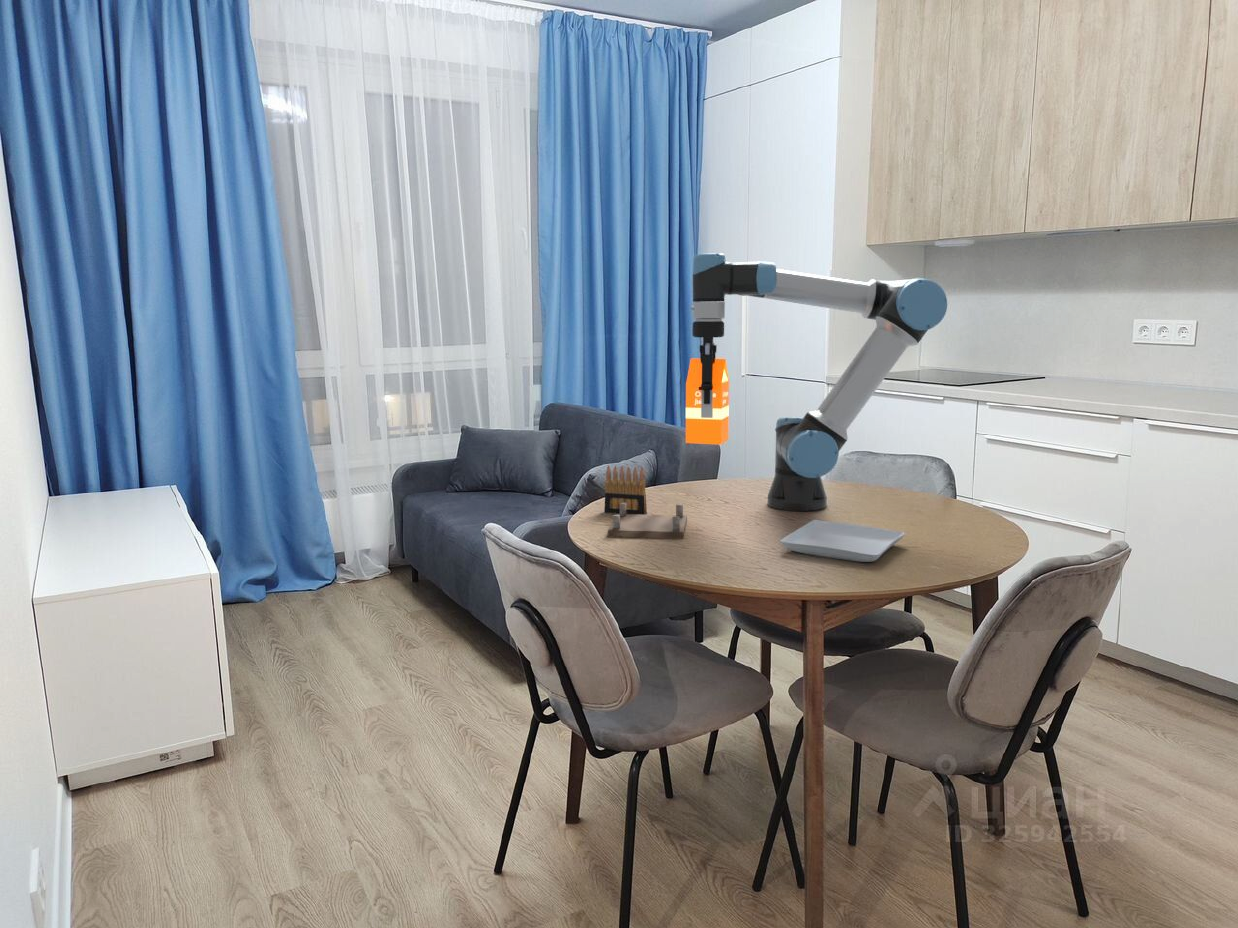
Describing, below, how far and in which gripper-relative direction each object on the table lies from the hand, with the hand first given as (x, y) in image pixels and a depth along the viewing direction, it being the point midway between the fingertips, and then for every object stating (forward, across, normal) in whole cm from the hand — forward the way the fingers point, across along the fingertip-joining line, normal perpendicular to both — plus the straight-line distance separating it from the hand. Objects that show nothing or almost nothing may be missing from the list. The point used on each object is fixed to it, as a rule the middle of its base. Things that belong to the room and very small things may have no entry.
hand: (707, 415), depth 219 cm
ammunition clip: (+26, -3, -20) cm, 33 cm away
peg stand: (+25, +13, -13) cm, 31 cm away
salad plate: (+26, +26, +30) cm, 47 cm away
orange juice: (+7, 0, 0) cm, 7 cm away
